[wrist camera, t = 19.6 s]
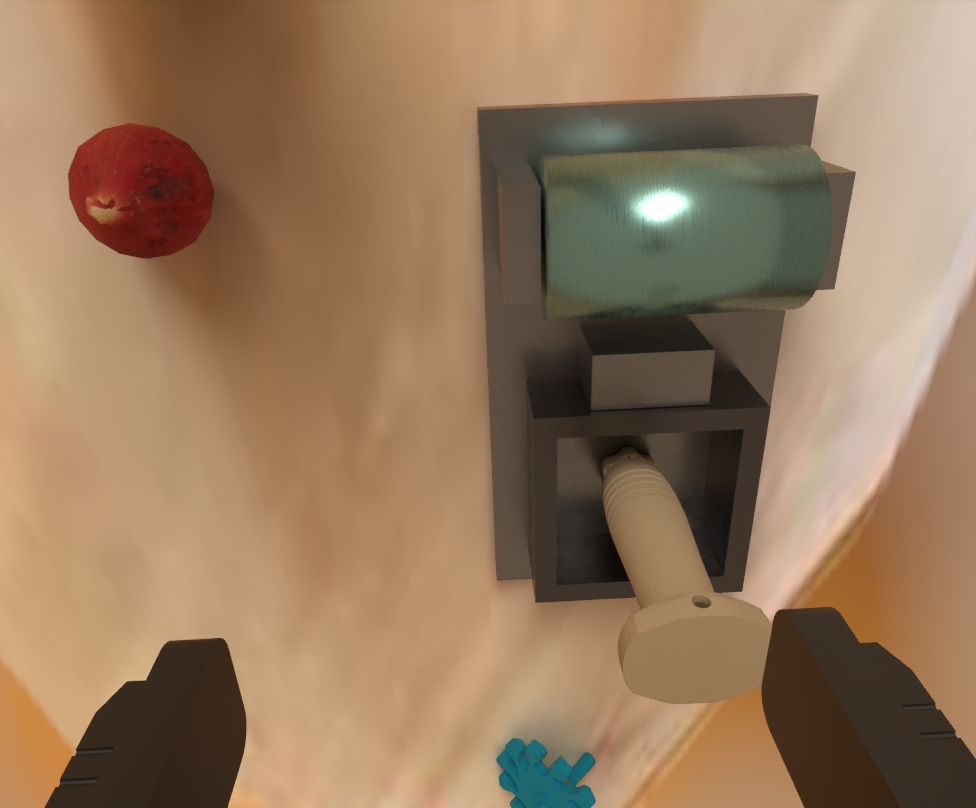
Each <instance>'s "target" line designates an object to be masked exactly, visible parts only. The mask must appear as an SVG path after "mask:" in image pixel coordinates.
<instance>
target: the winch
mask: <svg viewBox="0 0 976 808" xmlns="http://www.w3.org/2000/svg"><path fill="white" fill-rule="evenodd" d="M817 101H818V95H813V94H806V93H798V94H775V95H752V96H729V97H705V98H682V99H659V100H636V101H613V102H589V103H566V104H543V105H520V106H496V107H477V108H478V133H479V158H480V182H481V207H482V232H483V257H484V281H485V306H486V331H487V355H488V380H489V405H490V429H491V454H492V479H493V503H494V528H495V553H496V572H497V580H513V579H531V578H532V581H533V588H534V596H535V603H538V602H557V601H575V600H594V599H613V598H631V597H636V595H635V593H634V590H633V588H632V585H631V582H630V580H629V577H628V575H627V573H626V570H625V568H624V566H623V563H622V561H621V558H620V556H619V554H618V551H617V549H616V547H615V544H614V542H613V540H612V536H611V534H610V530H609V527H608V524H607V520H606V515H605V510H604V504H603V494H602V488H601V477H602V475H603V472H602V461H603V460H604V458H606V457H610V456H612V455H615V454H616V453H618V452H619V451H621V449H622V448H624V447H634V449H635V450H636V451H637V452H638V453H640V454H642V455H648V456H650V457H651V458H652V459H653V460H654V462H655V463H656V465H657V466H658V468H659V471H660V472H661V473H662V474H663V476H664V477H665V478H666V480H667V481H668V483H669V484H670V486H671V487H672V489H673V491H674V492H675V494H676V496H677V498H678V499H679V501H680V504H681V506H682V508H683V510H684V512H685V515H686V517H687V520H688V523H689V525H690V528H691V531H692V534H693V537H694V539H695V542H696V545H697V548H698V551H699V553H700V556H701V559H702V561H703V564H704V567H705V569H706V572H707V574H708V577H709V579H710V582H711V584H712V587H713V590H714V592H715V593H724V592H742V589H743V582H744V576H745V569H746V563H747V556H748V550H749V543H750V537H751V531H752V524H753V518H754V511H755V505H756V498H757V492H758V485H759V479H760V472H761V466H762V459H763V453H764V446H765V440H766V433H767V427H768V421H769V414H770V408H771V407H770V405H771V399H772V392H773V386H774V379H775V373H776V366H777V360H778V353H779V347H780V340H781V334H782V327H783V321H784V315H785V310H790V309H797V308H800V307H802V306H803V305H805V304H806V303H807V302H808V301H809V300H810V298H811V297H812V296H813V294H814V293H815V291H816V290H825V289H834V288H835V282H836V277H837V271H838V266H839V260H840V255H841V250H842V244H843V239H844V233H845V228H846V222H847V217H848V211H849V206H850V201H851V195H852V190H853V184H854V179H855V173H856V172H854V171H851V170H848V169H845V168H842V167H839V166H836V165H833V164H830V163H827V162H824V161H821V159H820V157H819V156H818V154H817V153H816V152H815V151H814V150H813V149H812V148H811V147H810V146H811V140H812V133H813V127H814V120H815V114H816V107H817Z"/></svg>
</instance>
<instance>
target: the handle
mask: <svg viewBox="0 0 976 808" xmlns="http://www.w3.org/2000/svg"><path fill="white" fill-rule="evenodd" d="M602 472H603V475H602V477H601V488H602V494H603V504H604V510H605V515H606V520H607V524H608V527H609V530H610V534H611V536H612V540H613V542H614V544H615V547H616V549H617V551H618V554H619V556H620V558H621V561H622V563H623V566H624V568H625V570H626V573H627V575H628V577H629V580H630V582H631V585H632V588H633V590H634V593H635V595H636V598H637V600H638V603H639V606H640V608H641V610H640V611H638V612H636V613H634V614H633V615H632V616H631V617H630V618H629V619H628V620H627V622H626V623H625V625H624V626H623V628H622V631H621V633H620V637H619V643H618V653H619V660H620V664H621V668H622V672H623V676H624V680H625V683H626V684H627V686H628V687H629V689H630V690H631V691H632V692H633V693H635V694H638V695H641V696H644V697H647V698H651V699H654V700H658V701H661V702H666V703H671V704H691V703H709V702H717V701H722V700H725V699H729V698H732V697H735V696H738V695H741V694H743V693H746V692H749V691H751V690H754V689H756V688H759V687H761V686H762V680H763V674H764V669H765V663H766V658H767V652H768V647H769V641H770V636H771V631H772V625H771V623H770V622H769V620H768V618H767V617H766V615H765V614H764V613H763V611H762V610H761V609H760V608H758V607H756V606H754V605H751V604H749V603H747V602H744V601H742V600H739V599H736V598H733V597H730V596H727V595H723V594H720V593H715V592H714V590H713V587H712V584H711V582H710V579H709V577H708V574H707V572H706V569H705V567H704V564H703V561H702V559H701V556H700V553H699V551H698V548H697V545H696V542H695V539H694V537H693V534H692V531H691V528H690V525H689V523H688V520H687V517H686V515H685V512H684V510H683V508H682V506H681V504H680V501H679V499H678V498H677V496H676V494H675V492H674V491H673V489H672V487H671V486H670V484H669V483H668V481H667V480H666V478H665V477H664V476H663V474H662V473H661V472H660V471H659V468H658V466H657V465H656V463H655V462H654V460H653V459H652V458H651V457H650V456H648V455H642V454H640V453H638V452H637V451H636V450H635V449H634V447H624V448H622V449H621V451H619V452H618V453H616V454H615V455H612V456H610V457H606V458H604V460H603V461H602Z"/></svg>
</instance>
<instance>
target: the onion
mask: <svg viewBox="0 0 976 808" xmlns="http://www.w3.org/2000/svg"><path fill="white" fill-rule="evenodd" d="M68 178H69V196H70V200H71V202H72V205H73V207H74V209H75V212H76V214H77V216H78V219H79V221H80V222H81V223H82V224H83V225H84V226H85V227H86V228H87V230H88V231H89V232H90V233H91V234H92V235H93V236H94V237H95V238H96V240H98V241H100V242H101V243H103V244H105V245H106V246H108V247H110V248H111V249H113V250H115V251H116V252H118V253H120V254H124V255H129V256H134V257H139V258H154V257H160V256H166V255H171V254H173V253H176V252H178V251H179V250H181V249H183V248H185V247H186V246H188V245H190V244H192V243H193V242H195V241H196V239H197V238H198V236H199V234H200V233H201V231H202V230H203V228H204V227H205V225H206V223H207V222H208V220H209V219H210V217H211V210H212V204H213V197H214V190H213V187H212V184H211V181H210V177H209V174H208V171H207V168H206V165H205V164H204V163H203V162H202V161H201V159H200V158H199V157H198V156H197V154H196V153H195V152H194V151H193V150H192V148H191V147H190V146H189V145H188V144H187V143H186V142H184V141H182V140H180V139H178V138H176V137H175V136H173V135H171V134H169V133H167V132H165V131H163V130H161V129H158V128H154V127H148V126H143V125H137V124H131V123H129V124H125V125H121V126H116V127H112V128H107V129H104V130H102V131H100V132H99V133H97V134H96V135H94V136H93V137H92V138H90V139H89V140H87V141H86V142H85V143H83V144H82V145H81V146H79V147H78V149H77V152H76V154H75V157H74V159H73V162H72V164H71V167H70V169H69V174H68Z"/></svg>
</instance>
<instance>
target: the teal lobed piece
mask: <svg viewBox="0 0 976 808" xmlns="http://www.w3.org/2000/svg"><path fill="white" fill-rule="evenodd" d="M505 746H506V749H505V750H504V751H503V752H502V753H501V754H500V755H499V756H498V757H497V759H496V760H497V762H498V764H499V765H500V766H501V767H502V768H503V769H505V771H503V772H502V773H501V774H500V776H499V783H500V786H501V787H502V788H503V789H505V790H507V791H510V792H511V793H513V794H514V795H516V797H515V798H514V799H513V800H512V801H511V802H510V805H511V808H591V807H592V806H593V804H594V803H595V802H596V801H595V797H594V795H593V793H592V791H591V789H590V788H589V787H588V786H586V785H583V786H581V787H575V785H576V784H577V783H578V782H579V781H580V780H581V779H582V778H583V777H584V775H585V774H586V773H587V772H588V771H589V770H590V769H591V768H592V767H593V765H594V764H595V759H594V758H593V756H592V755H591V754H589V753H585V754H584V755H583V756H582V757H581V758H580V759H579V760H578V762H577V763H576V764H575V765H574V766H573V767H572V768H571V767H570V765H569V764H568V763H567V762H566V761H565V760H564V758H563V757H559V758H558V759H557V760H556V761H555V762H554V763H553V764H552V765H551V769H549V768H547V767H545V766H544V765H543V763H542V761H541V759H542V758H543V757H544V756H545V755H546V754H547V750H546V748H545V747H544V746H543V745H542V744H540V743H539V742H537V741H536V740H533V741H532V742H531V743H530V744H529V745H528V746H527V747H526V746H525V744H524V742H523V741H522V740H520V739H516V738H513V739H512V740H511V741H509V742H508V743H507V744H506V745H505ZM525 751H526V753H527V756H528V759H529V761H528V760H527V758H526V756H525Z"/></svg>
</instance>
